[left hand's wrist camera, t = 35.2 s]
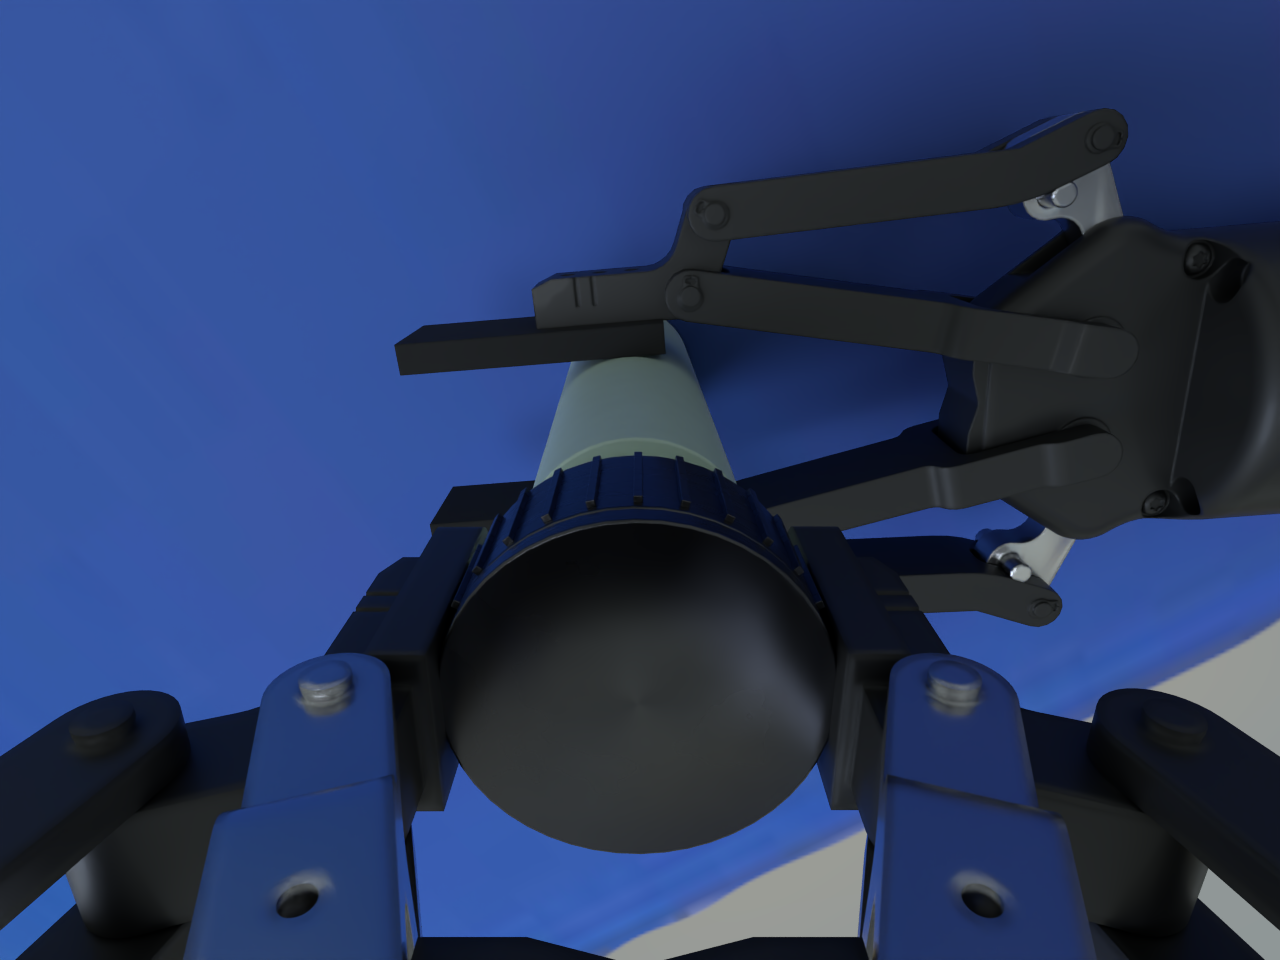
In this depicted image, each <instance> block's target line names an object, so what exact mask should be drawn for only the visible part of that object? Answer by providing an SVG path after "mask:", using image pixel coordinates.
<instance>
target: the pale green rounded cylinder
mask: <svg viewBox="0 0 1280 960" xmlns="http://www.w3.org/2000/svg"><path fill="white" fill-rule="evenodd" d="M663 322H664V335H665V349H666V354H662V355H649V356H637V357H622V358H612V359H599V360H587V361H574V362H571V365H570V368H569V371H568V375H567V378H566V381H565V384H564V388H563V391H562V394H561V398H560V401H559V404H558V407H557V411H556V414H555V417H554V421H553V424H552V427H551V430H550V434H549V437H548V440H547V444H546V447H545V450H544V453H543V457H542V460H541V463H540V467H539V470H538V473H537V477H536V480H535V483H534V486H533V488H534V487H536V486H537V485H539V484H540V483H542V482H543V481H545V480H546V479H548V478H550V477H552V476H553V474H554V471H555V470H556V469H559V468H562V470H563V471H564V470H566V469H569V468H572V467H575V466H578V465H581V464H584V463H587V462H590V461H592V460H593V457H595V456H599V455H600V456H601V459H605V458H610V457H619V456H632V455H634V452H642V456H659V457H665V458H671V459H675V457H676V456H681V457H684V461H685V462H688V463H692V464H695V465H698V466H702V467H704V468H707V469H709V470H711V471H714V469H715V468H717V469H719V470H721V471H722V473H723V476H724V477H726V478H727V479H729V480H731V481H732V482H734V483H736V481H735V478H734V475H733V473H732V470H731V467H730V465H729V462H728V459H727V457H726V454H725V451H724V449H723V446H722V443H721V441H720V438H719V435H718V433H717V430H716V427H715V425H714V422H713V420H712V417H711V414H710V412H709V409H708V406H707V404H706V401H705V398H704V396H703V393H702V390H701V388H700V385H699V382H698V380H697V377H696V374H695V372H694V369H693V366H692V364H691V361H690V358H689V356H688V353H687V350H686V348H685V345H684V343H683V341H682V339H681V337H680V335H679V334H678V332H677V331H676V330H675V329H674V327H673V326H672V325H671V324H670V323H668V322H667V321H666V320H663ZM736 484H737V483H736Z"/></svg>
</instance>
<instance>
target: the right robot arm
mask: <svg viewBox="0 0 1280 960" xmlns="http://www.w3.org/2000/svg"><path fill="white" fill-rule="evenodd" d="M1127 138H1128V125H1127V123H1126V121H1125V119H1124V117H1123V115H1122V114H1120V113H1119V112H1117V111H1116V110H1114V109H1107V108H1103V109H1097V110H1091V111H1086V112H1078V113H1072V114H1066V115H1060V116H1054V117H1049V118H1045V119H1042V120H1039V121H1037V122H1035V123H1033V124H1031V125H1029V126H1027V127H1025V128H1023V129H1021V130H1019V131H1017V132H1015V133H1013V134H1011V135H1009V136H1007V137H1005V138H1003V139H1001V140H999V141H997V142H995V143H993V144H991V145H989V146H987V147H985V148H983V149H981V150H979V151H977V152H975V153H969V154H961V155H953V156H945V157H937V158H928V159H920V160H912V161H904V162H896V163H888V164H880V165H872V166H864V167H856V168H847V169H839V170H831V171H823V172H815V173H807V174H799V175H791V176H783V177H775V178H766V179H758V180H750V181H742V182H734V183H726V184H718V185H710V186H703V187H700V188H697V189H694V190H693V191H692V192H691V193H690V194H689V195H688V196H687V198H686V200H685V202H684V204H683V211H682V215H681V219H680V222H679V226H678V229H677V233H676V237H675V240H674V243H673V246H672V248H671V250H670V251H669V253H668V254H667V256H665V257H664V258H663V259H662V260H661V261H659V262H657V263H655V264H652V265H647V266H637V267H625V268H613V269H601V270H589V271H579V272H565V273H556V274H554V275H552V276H551V277H549V278H547V279H545V280H543V281H541V282H539V283H538V284H537V285H536V286H535V287H534V288H533V289H532V296H533V304H534V311H535V317H524V318H511V319H499V320H487V321H475V322H463V323H450V324H438V325H426V326H422V327H421V328H419V329H418V330H416V331H415V332H413V333H412V334H410V335H409V336H407V337H406V338H404V339H403V340H401V341H400V342H398V343H397V344H395V345H394V346H395V351H396V356H397V361H398V366H399V371H400V375H413V374H425V373H438V372H450V371H462V370H475V369H487V368H500V367H512V366H525V365H537V364H550V363H562V362H574V361H587V360H599V359H612V358H622V357H637V356H649V355H662V354H666V349H665V335H664V322H663V320H675V319H680V320H683V321H686V322H693V323H701V324H709V325H717V326H725V327H733V328H741V329H749V330H757V331H765V332H773V333H781V334H789V335H796V336H804V337H812V338H820V339H828V340H836V341H844V342H852V343H860V344H868V345H876V346H884V347H892V348H900V349H908V350H916V351H924V352H931V353H937V354H941V355H943V362H944V366H945V371H946V376H947V380H948V389H947V392H946V395H945V398H944V400H943V403H942V406H941V409H940V412H939V419H937V420H934V421H930V422H926V423H923V424H919V425H915V426H912V427H909V428H907V429H905V430H904V431H903V432H902V433H901V434H900V435H899V436H898V437H895V438H892V439H889V440H885V441H881V442H878V443H874V444H870V445H867V446H863V447H859V448H856V449H852V450H848V451H845V452H841V453H837V454H834V455H830V456H826V457H823V458H819V459H815V460H812V461H808V462H804V463H800V464H797V465H793V466H789V467H786V468H782V469H778V470H775V471H771V472H767V473H764V474H760V475H756V476H753V477H749V478H745V479H742V480H738V481H736V483H737V485H739V486H740V487H742V488H743V489H745V490H746V491H747V490H748V489H749V488H751V489H752V490H753V491H755V493H756V495H757V498H758V501H759V502H760V503H761V504H762V505H763V506H764V507H765V508H766V509H767V510H768V511H769V513H770V514H771V515H772V516H775V515H776V514H778V515H779V516H780V517H781V519H782V521H783V523H784V526H785V528H786V530H787V533H788V531H789V528H790V527H791V526H832V527H839V528H840V530H841V531H843V530H847V529H851V528H855V527H859V526H862V525H866V524H870V523H874V522H878V521H882V520H885V519H889V518H893V517H897V516H901V515H905V514H908V513H912V512H916V511H920V510H924V509H927V508H932V507H940V508H945V509H963V508H968V507H972V506H975V505H979V504H983V503H987V502H991V501H995V500H998V499H1001V500H1003V501H1004V502H1006V503H1007V504H1009V505H1011V506H1012V507H1014V508H1015V509H1017V510H1019V511H1020V512H1022V513H1023V514H1025V515H1027V516H1028V519H1027V520H1026V521H1025V522H1024V523H1023V524H1022V525H1020V526H1018V527H1016V528H1013V529H1009V530H1003V529H996V530H991V529H982V530H981V531H979V532H978V533H977V535H976V538H975V540H970V539H966V538H961V537H953V536H913V537H890V538H866V539H846V540H847V542H848V544H849V546H850V547H851V549H852V551H853V553H854V554H855V556H856V557H874V558H876V559H877V560H878V561H880V562H881V563H883V564H884V565H886V566H887V567H889V568H890V569H892V570H893V571H895V572H896V573H897V574H898V575H899V577H900V578H901V580H902V581H903V583H904V585H905V586H906V588H907V589H908V591H909V595H912V597H913V598H914V600H915V601H916V603H917V604H918V606H919V611H922V612H923V613H935V612H959V611H979V612H983V613H986V614H990V615H993V616H997V617H1000V618H1004V619H1007V620H1011V621H1014V622H1018V623H1021V624H1025V625H1028V626H1035V627H1040V626H1044V625H1047V624H1049V623H1051V622H1052V621H1054V620H1055V619H1056V618H1057V617H1058V615H1059V614H1060V612H1061V609H1062V599H1061V598H1060V596H1059V595H1058V594H1057V593H1056V592H1055V591H1054V590H1053V589H1052V588H1051V587H1050V584H1051V582H1052V580H1053V578H1054V577H1055V575H1056V573H1057V571H1058V570H1059V568H1060V566H1061V564H1062V563H1063V561H1064V559H1065V557H1066V556H1067V554H1068V552H1069V550H1070V549H1071V547H1072V545H1073V543H1074V542H1075V540H1076V539H1090V538H1094V537H1097V536H1100V535H1102V534H1104V533H1106V532H1108V531H1110V530H1111V529H1113V528H1115V527H1117V526H1119V525H1122V524H1124V523H1127V522H1129V521H1133V520H1136V519H1142V518H1162V519H1188V520H1189V519H1213V518H1226V517H1240V516H1253V515H1267V514H1280V221H1278V222H1266V223H1254V224H1242V225H1230V226H1218V227H1206V228H1194V229H1182V230H1170V231H1167V230H1164V229H1161V228H1159V227H1157V226H1155V225H1154V224H1152V223H1150V222H1149V221H1147V220H1144V219H1141V218H1138V217H1133V216H1123V213H1122V209H1121V205H1120V201H1119V197H1118V193H1117V189H1116V185H1115V182H1114V178H1113V174H1112V170H1111V166H1110V162H1111V161H1113V160H1114V159H1115V158H1117V157H1118V155H1119V154H1120V153H1121V151H1122V150H1123V149H1124V147H1125V144H1126V141H1127ZM1003 206H1008V208H1009V210H1010V211H1011V212H1012V213H1013V214H1014V215H1015V216H1017V217H1019V218H1022V219H1032V220H1043V221H1046V220H1051V219H1054V220H1056V221H1057V222H1058V223H1059V224H1060V226H1061V228H1062V230H1063V231H1061V232H1060V233H1059V234H1057V235H1056V236H1055V237H1053V238H1052V239H1051V240H1050V241H1048V242H1047V243H1046V244H1044V245H1043V246H1042V247H1040V248H1039V249H1038V250H1037V251H1035V252H1034V253H1033V254H1031V255H1030V256H1029V257H1027V258H1026V259H1025V260H1024V261H1022V262H1021V263H1020V264H1018V265H1017V266H1016V267H1014V268H1013V269H1012V270H1011V271H1009V272H1008V273H1007V274H1005V275H1004V276H1003V277H1001V278H1000V279H999V280H998V281H996V282H995V283H994V284H992V285H991V286H990V287H988V288H987V289H986V290H985V291H983V292H982V293H981V294H979V295H978V296H977V297H973V296H965V295H957V294H950V293H942V292H934V291H926V290H907V289H899V288H892V287H884V286H876V285H869V284H861V283H853V282H845V281H838V280H830V279H822V278H815V277H807V276H799V275H791V274H784V273H776V272H768V271H761V270H753V269H745V268H737V267H730V266H723V264H724V260H725V257H726V254H727V251H728V247H729V244H730V241H731V240H734V239H742V238H750V237H759V236H767V235H775V234H784V233H792V232H800V231H808V230H817V229H825V228H833V227H842V226H850V225H858V224H866V223H875V222H883V221H891V220H900V219H908V218H916V217H925V216H933V215H941V214H949V213H958V212H966V211H974V210H983V209H991V208H998V207H1003ZM534 483H535V480H534V481H521V482H508V483H495V484H482V485H470V486H457V487H453V488H452V489H451V491H450V493H449V494H448V496H447V497H446V499H445V501H444V502H443V504H442V506H441V507H440V509H439V511H438V512H437V514H436V516H435V517H434V519H433V520H432V522H431V524H430V528H431V533H432V535H433V534H434V532H435V530H436V529H437V528H438V527H486V529H487V531H488V532H489V530H490V528H491V525H492V523H493V521H494V518H495V517H496V516H497V515H498V514H500V515H502V516H504V515H505V513H506V512H507V511H508V510H509V509H510V508H511V506H512V505H513V504H515V503H516V502H517V501H518V498H519V495H520V493H521V491H522V490H523V489H525V488H526V487H527V488H528V489H529V490H531V489H533V486H534Z"/></svg>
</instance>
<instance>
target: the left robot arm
mask: <svg viewBox="0 0 1280 960" xmlns="http://www.w3.org/2000/svg"><path fill="white" fill-rule="evenodd" d="M487 534H488V531H487V529H486V527H438V528H437V529H436V530H435V532H434V534H433V535H432V537H431V539H430V540H429V542H428V544H427V546H426V547H425V549H424V551H423V552H422V554H421V556H420V557H403V558H401V559H400V560H398V561H397V562H395V563H394V564H392V565H391V566H389V567H388V568H386V569H385V570H383V571H382V572H380V573H379V574H378V575H377V577H376V578H375V580H374V581H373V583H372V584H371V586H370V587H369V589H368V590H367V592H366V596H363V598H362V599H361V601H360V602H359V604H358V605H357V607H356V612H353V613H352V614H351V616H350V617H349V619H348V620H347V622H346V623H345V625H344V626H343V628H342V629H341V631H340V632H339V634H338V635H337V637H336V638H335V640H334V641H333V643H332V644H331V646H330V647H329V649H328V650H327V652H326V653H325V655H324V656H320V657H316V658H313V659H310V660H307V661H305V662H302V663H300V664H297V665H296V666H294V667H292V668H290V669H288V670H287V671H285V672H283V673H282V674H280V675H279V676H278V677H277V678H276V679H274V680H273V681H272V682H271V684H270V685H269V686H268V687H267V689H266V690H265V692H264V694H263V697H262V700H261V705H260V707H257V708H254V709H251V710H248V711H244V712H239V713H235V714H230V715H225V716H220V717H215V718H210V719H205V720H200V721H195V722H190V723H186V724H185V722H184V718H183V714H182V711H181V707H180V705H179V702H178V701H177V700H176V699H175V698H174V697H173V696H171V695H169V694H166V693H163V692H159V691H151V690H143V691H130V692H124V693H118V694H114V695H110V696H106V697H103V698H100V699H97V700H94V701H91V702H89V703H86V704H84V705H82V706H79V707H77V708H75V709H73V710H71V711H69V712H67V713H65V714H64V715H62V716H60V717H59V718H57V719H56V720H54V721H53V722H51V723H50V724H48V725H47V726H45V727H44V728H42V729H41V730H39V731H38V732H36V733H35V734H33V735H32V736H30V737H29V738H27V739H26V740H24V741H23V742H21V743H20V744H18V745H17V746H15V747H14V748H12V749H11V750H9V751H8V752H6V753H5V754H3V755H2V756H0V930H1V929H2V928H4V927H5V926H6V925H7V924H8V923H9V922H10V921H12V920H13V919H14V918H15V917H16V916H17V915H18V914H20V913H21V912H22V911H23V910H24V909H25V908H26V907H28V906H29V905H30V904H31V903H32V902H33V901H35V900H36V899H37V898H38V897H39V896H40V895H41V894H43V893H44V892H45V891H46V890H47V889H48V888H49V887H51V886H52V885H53V884H54V883H55V882H56V881H57V880H59V879H60V878H61V877H62V876H63V875H64V874H66V877H67V879H68V882H69V885H70V887H71V890H72V893H73V896H74V898H75V901H76V904H75V905H74V906H73V907H72V908H71V909H70V910H69V911H68V912H66V913H65V914H64V915H63V916H62V917H61V918H60V919H59V920H58V921H57V922H56V923H55V924H53V925H52V926H51V927H50V928H49V929H48V930H47V931H46V932H45V933H44V934H43V935H42V936H40V937H39V938H38V939H37V940H36V941H35V942H34V943H33V944H32V945H31V946H30V947H29V948H27V949H26V950H25V951H24V952H23V953H22V954H21V955H20V956H19V957H18V958H17V959H16V960H614V959H610V958H606V957H602V956H598V955H594V954H591V953H587V952H583V951H579V950H575V949H571V948H567V947H563V946H559V945H555V944H552V943H548V942H544V941H540V940H536V939H532V938H528V937H422V926H421V914H420V902H419V890H418V878H417V866H416V854H415V846H414V839H413V832H412V825H411V824H412V821H413V818H414V815H415V812H416V811H444V809H445V806H446V802H447V799H448V796H449V793H450V790H451V786H452V783H453V780H454V777H455V774H456V770H457V767H458V764H459V762H458V760H457V758H456V756H455V755H454V753H453V751H452V749H451V747H450V745H449V742H448V739H447V737H446V731H445V723H444V714H443V705H442V696H441V688H440V678H439V658H440V654H441V650H442V647H443V643H444V639H445V637H446V634H447V632H448V630H449V627H450V625H451V623H452V620H453V618H454V616H455V613H456V611H457V609H455V608H453V607H451V605H452V602H453V600H454V598H455V596H456V593H457V591H458V589H459V587H460V584H461V582H462V580H463V578H464V576H465V573H466V571H467V569H468V567H469V564H470V562H471V560H472V558H473V555H474V553H475V551H476V549H477V546H478V544H480V545H483V544H484V541H485V539H486V537H487ZM788 535H789V537H790V540H791V542H792V544H793V546H794V545H798V547H799V549H800V552H801V554H802V556H803V558H804V561H805V563H806V565H807V567H808V570H809V572H810V574H811V577H812V579H813V581H814V583H815V586H816V588H817V590H818V592H819V595H820V597H821V599H822V601H823V604H824V606H825V607H824V608H822V609H820V610H819V611H820V614H821V616H822V619H823V621H824V623H825V626H826V628H827V630H828V633H829V636H830V639H831V642H832V645H833V649H834V652H835V656H836V678H835V687H834V696H833V705H832V714H831V723H830V731H829V738H828V741H827V743H826V745H825V747H824V749H823V751H822V753H821V755H820V757H819V759H818V761H817V765H818V769H819V772H820V775H821V778H822V782H823V785H824V788H825V792H826V795H827V798H828V802H829V805H830V808H831V810H859V813H860V816H861V818H862V821H863V824H864V827H865V830H866V832H867V839H866V846H865V854H864V866H863V878H862V890H861V902H860V914H859V926H858V937H752V938H748V939H744V940H740V941H736V942H732V943H728V944H725V945H721V946H717V947H713V948H709V949H705V950H701V951H697V952H694V953H689V954H686V955H682V956H678V957H674V958H670V959H666V960H1264V959H1263V958H1262V957H1261V956H1260V955H1259V954H1258V953H1257V952H1256V951H1255V950H1254V949H1252V948H1251V947H1250V946H1249V945H1248V944H1247V943H1246V942H1245V941H1244V940H1243V939H1242V938H1241V937H1239V936H1238V935H1237V934H1236V933H1235V932H1234V931H1233V930H1232V929H1231V928H1230V927H1229V926H1228V925H1227V924H1225V923H1224V922H1223V921H1222V920H1221V919H1220V918H1219V917H1218V916H1217V915H1216V914H1215V913H1214V912H1212V911H1211V910H1210V909H1209V908H1208V907H1207V906H1206V905H1205V904H1204V903H1203V902H1202V901H1201V900H1199V899H1198V895H1199V892H1200V890H1201V887H1202V884H1203V881H1204V879H1205V876H1206V873H1207V870H1208V868H1209V869H1210V870H1211V871H1212V872H1213V873H1215V874H1216V875H1217V876H1218V877H1219V878H1220V879H1221V880H1223V881H1224V882H1225V883H1226V884H1227V885H1228V886H1230V887H1231V888H1232V889H1233V890H1234V891H1235V892H1236V893H1237V894H1239V895H1240V896H1241V897H1242V898H1243V899H1244V900H1245V901H1247V902H1248V903H1249V904H1250V905H1251V906H1252V907H1253V908H1255V909H1256V910H1257V911H1258V912H1259V913H1260V914H1262V915H1263V916H1264V917H1265V918H1266V919H1267V920H1268V921H1270V922H1271V923H1272V924H1273V925H1274V926H1275V927H1276V928H1278V929H1279V930H1280V756H1278V755H1277V754H1275V753H1274V752H1272V751H1271V750H1269V749H1268V748H1266V747H1265V746H1263V745H1262V744H1260V743H1259V742H1257V741H1256V740H1254V739H1253V738H1251V737H1250V736H1248V735H1247V734H1245V733H1244V732H1242V731H1241V730H1239V729H1238V728H1236V727H1235V726H1233V725H1232V724H1230V723H1229V722H1227V721H1226V720H1224V719H1223V718H1221V717H1220V716H1218V715H1217V714H1215V713H1213V712H1212V711H1210V710H1208V709H1206V708H1204V707H1202V706H1200V705H1198V704H1196V703H1193V702H1191V701H1188V700H1186V699H1183V698H1180V697H1177V696H1174V695H1171V694H1167V693H1163V692H1159V691H1153V690H1147V689H1137V688H1127V689H1118V690H1114V691H1111V692H1108V693H1106V694H1105V695H1103V696H1102V697H1101V698H1100V699H1099V701H1098V703H1097V706H1096V709H1095V713H1094V717H1093V721H1092V723H1089V722H1084V721H1079V720H1074V719H1069V718H1064V717H1059V716H1054V715H1049V714H1044V713H1039V712H1035V711H1031V710H1027V709H1023V708H1020V705H1019V700H1018V697H1017V694H1016V692H1015V690H1014V689H1013V687H1012V686H1011V685H1010V684H1009V682H1008V681H1007V680H1006V679H1004V678H1003V677H1002V676H1001V675H1000V674H998V673H997V672H995V671H993V670H992V669H990V668H988V667H986V666H984V665H983V664H980V663H978V662H975V661H973V660H970V659H967V658H964V657H960V656H956V655H951V654H950V653H949V652H948V650H947V649H946V647H945V646H944V644H943V643H942V641H941V639H940V638H939V636H938V635H937V633H936V632H935V630H934V629H933V627H932V626H931V624H930V623H929V621H928V620H927V618H926V617H925V615H924V614H923V612H922V611H919V606H918V604H917V603H916V601H915V600H914V598H913V597H912V595H909V591H908V589H907V588H906V586H905V585H904V583H903V581H902V580H901V578H900V577H899V575H898V574H897V573H896V572H895V571H893V570H892V569H890V568H889V567H887V566H886V565H884V564H883V563H881V562H880V561H878V560H877V559H876V558H874V557H856V556H855V554H854V553H853V551H852V549H851V547H850V546H849V544H848V542H847V540H846V539H845V537H844V535H843V533H842V532H841V530H840V528H839V527H832V526H791V527H790V528H789V531H788Z"/></svg>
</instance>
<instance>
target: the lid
mask: <svg viewBox="0 0 1280 960" xmlns="http://www.w3.org/2000/svg"><path fill="white" fill-rule="evenodd" d="M451 607H453V608H455V609H457V611H456V613H455V616H454V618H453V620H452V623H451V625H450V627H449V630H448V632H447V634H446V637H445V639H444V643H443V647H442V650H441V654H440V658H439V678H440V688H441V696H442V705H443V714H444V723H445V731H446V737H447V739H448V742H449V745H450V747H451V749H452V751H453V753H454V755H455V756H456V758H457V760H458V762H459V764H460V765H461V767H462V768H463V770H464V771H465V772H466V774H467V775H468V776H469V778H470V779H471V780H472V782H473V783H474V784H475V785H476V786H477V787H478V788H479V789H480V790H481V791H482V792H483V793H484V794H485V796H486V797H487V798H488V799H489V800H490V801H492V802H493V803H494V804H495V805H497V806H498V807H499V808H501V809H502V810H503V811H504V812H506V813H507V814H508V815H510V816H511V817H513V818H515V819H516V820H518V821H519V822H521V823H523V824H524V825H526V826H527V827H529V828H532V829H534V830H536V831H538V832H540V833H542V834H544V835H546V836H548V837H551V838H554V839H557V840H560V841H562V842H565V843H568V844H571V845H575V846H580V847H584V848H588V849H592V850H598V851H606V852H613V853H629V854H647V853H663V852H670V851H676V850H682V849H688V848H692V847H696V846H699V845H703V844H707V843H711V842H713V841H716V840H718V839H721V838H724V837H726V836H729V835H731V834H734V833H736V832H738V831H740V830H742V829H743V828H745V827H747V826H749V825H751V824H753V823H755V822H756V821H758V820H759V819H761V818H762V817H764V816H765V815H767V814H768V813H770V812H771V811H773V810H774V809H775V808H776V807H777V806H779V805H780V804H781V803H782V802H783V801H784V800H786V799H787V798H788V797H789V796H790V795H791V794H792V793H793V792H794V791H795V790H796V789H797V787H798V786H799V785H800V784H801V783H802V782H803V781H804V780H805V778H806V777H807V776H808V774H809V773H810V771H811V770H812V768H813V767H814V765H815V764H816V763H817V761H818V759H819V757H820V755H821V753H822V751H823V749H824V747H825V745H826V743H827V741H828V738H829V731H830V723H831V714H832V705H833V696H834V687H835V678H836V656H835V652H834V649H833V645H832V642H831V639H830V636H829V633H828V630H827V628H826V626H825V623H824V621H823V619H822V616H821V614H820V611H819V610H820V609H822V608H824V607H825V606H824V604H823V601H822V599H821V597H820V595H819V592H818V590H817V588H816V586H815V583H814V581H813V579H812V577H811V574H810V572H809V570H808V567H807V565H806V563H805V561H804V558H803V556H802V554H801V552H800V549H799V547H798V545H794V546H793V544H792V542H791V540H790V537H789V535H788V533H787V530H786V528H785V526H784V523H783V521H782V519H781V517H780V516H779V515H778V514H776V515H775V516H772V515H771V514H770V513H769V511H768V510H767V509H766V508H765V507H764V506H763V505H762V504H761V503H760V502H759V501H758V498H757V495H756V493H755V491H753V490H752V489H751V488H749V489H748V490H747V491H746V490H745V489H743V488H742V487H740V486H739V485H737V484H736V483H734V482H732V481H731V480H729V479H727V478H726V477H724V476H723V473H722V471H721V470H719V469H717V468H715V469H714V471H711V470H709V469H707V468H704V467H702V466H698V465H695V464H692V463H688V462H685V461H684V457H681V456H676V457H675V459H671V458H665V457H659V456H642V452H634V455H632V456H619V457H610V458H605V459H601V456H600V455H599V456H595V457H593V460H592V461H590V462H587V463H584V464H581V465H578V466H575V467H572V468H569V469H566V470H564V471H563V470H562V468H559V469H556V470H555V471H554V474H553V476H552V477H550V478H548V479H546V480H545V481H543V482H542V483H540V484H539V485H537V486H536V487H534V488H533V489H531V490H529V489H528V488H527V487H526V488H525V489H523V490H522V491H521V493H520V495H519V498H518V501H517V502H516V503H515V504H513V505H512V506H511V508H510V509H509V510H508V511H507V512H506V513H505V515H504V516H502V515H500V514H498V515H497V516H496V517H495V518H494V521H493V523H492V525H491V528H490V530H489V532H488V534H487V537H486V539H485V541H484V544H483V545H480V544H478V546H477V549H476V551H475V553H474V555H473V558H472V560H471V562H470V564H469V567H468V569H467V571H466V573H465V576H464V578H463V580H462V582H461V584H460V587H459V589H458V591H457V593H456V596H455V598H454V600H453V602H452V605H451Z"/></svg>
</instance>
